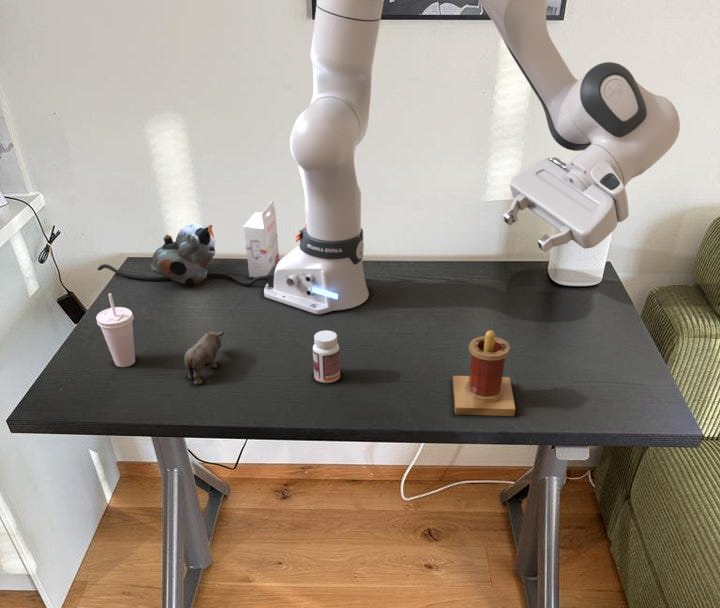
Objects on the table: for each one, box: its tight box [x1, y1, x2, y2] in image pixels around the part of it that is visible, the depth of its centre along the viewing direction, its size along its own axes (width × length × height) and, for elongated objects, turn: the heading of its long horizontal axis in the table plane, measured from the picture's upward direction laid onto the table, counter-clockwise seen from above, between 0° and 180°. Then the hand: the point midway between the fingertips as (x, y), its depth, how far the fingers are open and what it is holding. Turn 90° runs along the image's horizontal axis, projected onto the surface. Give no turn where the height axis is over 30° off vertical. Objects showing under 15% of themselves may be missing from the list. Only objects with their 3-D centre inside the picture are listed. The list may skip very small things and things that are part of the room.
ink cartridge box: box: [242, 200, 280, 279], centre depth 168 cm, size 9×5×15 cm, turn 168°
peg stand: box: [452, 329, 516, 417], centre depth 128 cm, size 10×10×13 cm
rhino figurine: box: [183, 327, 225, 385], centre depth 139 cm, size 4×14×6 cm, turn 164°
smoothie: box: [95, 292, 136, 368], centre depth 138 cm, size 6×6×14 cm
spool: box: [464, 335, 511, 402], centre depth 129 cm, size 7×7×9 cm
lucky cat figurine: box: [147, 223, 217, 287], centre depth 167 cm, size 15×12×14 cm
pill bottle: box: [312, 330, 341, 384], centre depth 136 cm, size 5×5×8 cm
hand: (522, 233), depth 124 cm, fingers open, 8 cm apart
